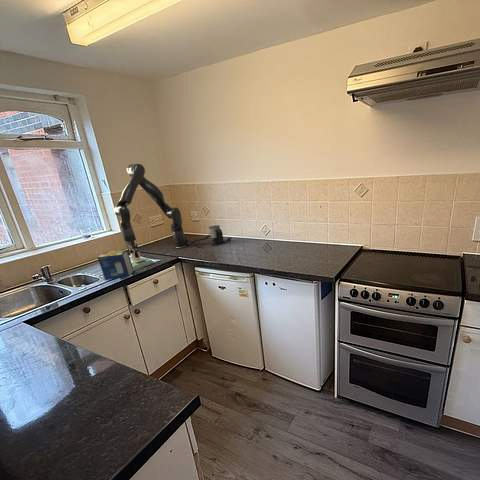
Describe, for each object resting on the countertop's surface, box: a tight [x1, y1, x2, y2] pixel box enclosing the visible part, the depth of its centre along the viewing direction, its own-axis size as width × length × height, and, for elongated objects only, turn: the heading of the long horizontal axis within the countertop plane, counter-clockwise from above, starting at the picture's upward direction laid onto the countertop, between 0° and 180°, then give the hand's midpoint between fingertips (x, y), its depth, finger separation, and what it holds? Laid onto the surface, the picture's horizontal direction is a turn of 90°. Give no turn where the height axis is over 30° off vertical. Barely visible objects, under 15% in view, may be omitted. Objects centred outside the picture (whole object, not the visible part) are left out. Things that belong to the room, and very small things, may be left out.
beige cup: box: [129, 251, 142, 261], centre depth 218 cm, size 6×6×5 cm
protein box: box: [97, 249, 135, 280], centre depth 196 cm, size 10×15×16 cm
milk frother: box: [208, 224, 233, 246], centre depth 248 cm, size 14×16×15 cm
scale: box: [130, 256, 153, 270], centre depth 218 cm, size 14×17×3 cm
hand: (135, 256), depth 218 cm, fingers closed on beige cup, 6 cm apart
